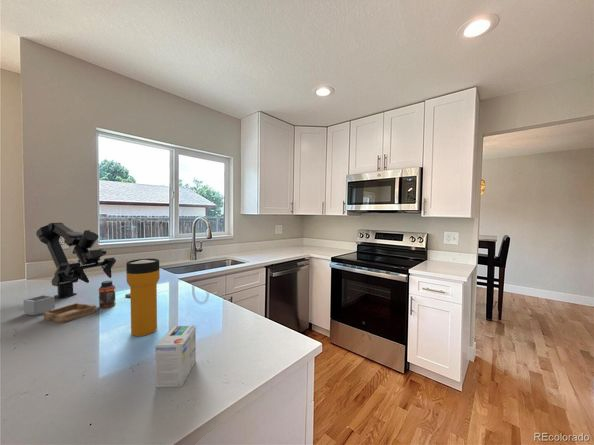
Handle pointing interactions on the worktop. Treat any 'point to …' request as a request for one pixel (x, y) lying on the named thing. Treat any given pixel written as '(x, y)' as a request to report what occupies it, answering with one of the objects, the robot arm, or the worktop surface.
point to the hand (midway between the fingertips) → (99, 279)
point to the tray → (69, 312)
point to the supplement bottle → (107, 294)
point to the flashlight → (143, 294)
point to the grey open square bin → (39, 304)
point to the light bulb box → (175, 356)
